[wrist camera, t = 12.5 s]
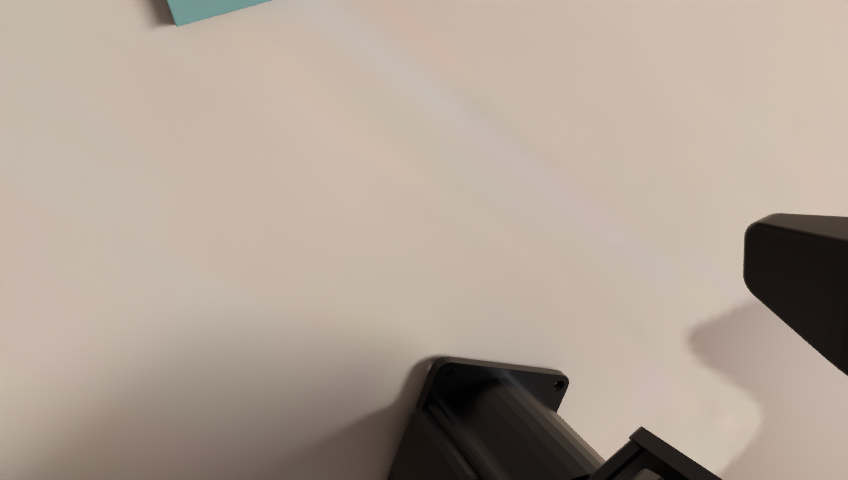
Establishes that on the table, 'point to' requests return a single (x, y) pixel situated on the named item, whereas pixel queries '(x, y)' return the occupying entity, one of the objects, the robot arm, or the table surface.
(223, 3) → the teal mat
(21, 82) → the table surface
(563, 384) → the robot arm
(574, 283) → the table surface
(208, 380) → the table surface
